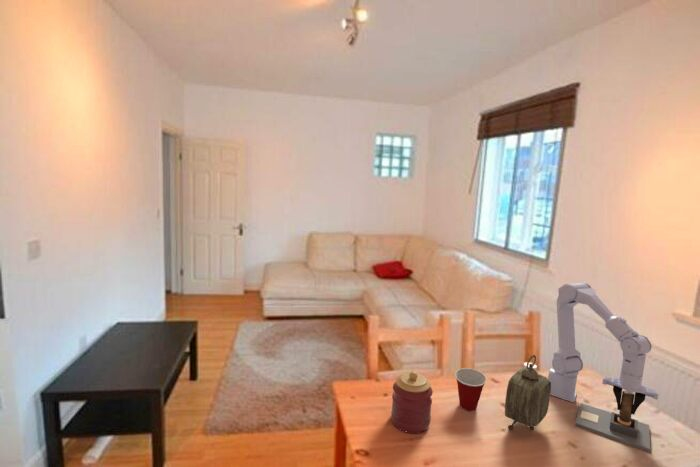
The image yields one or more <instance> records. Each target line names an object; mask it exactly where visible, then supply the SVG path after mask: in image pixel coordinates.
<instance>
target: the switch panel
mask: <svg viewBox="0 0 700 467" xmlns="http://www.w3.org/2000/svg"><path fill="white" fill-rule="evenodd" d="M579 403H580V404H579V408H578V411H577V415H576V418H575V422H574V426H576V427H578V428H581V429H583V430H586V431H589V432H592V433H595V434H598V435H601V436H604V437H606V438H609V439H612V440H615V441H618V442H620V443H623V444H625V445H628V446H631V447H634V448H637V449H639V450H643V451H644V452H647V453H650V452H651V438H650V437H651V436H650V434H651V432H650V424H648V423H647V424H646V423H643V422H642V421H641V422H640V421H639V420H637V419H635V418H632V417H631V426H629V427H627V426H624V425H621V424H619V423H618V422H617V420H618V417H619V413H616V412H614V411H611V412H610V411H607V410H604V409H601V408H599V407H595V406H592V405H589V404H586V403H583V402H579Z"/></svg>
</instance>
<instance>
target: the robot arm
mask: <svg viewBox="0 0 700 467" xmlns="http://www.w3.org/2000/svg"><path fill="white" fill-rule="evenodd" d="M557 290H558V297H557V298H556V316H557V332H558V333H557V335H558V336H557V337H558V348H556V350H555V351H554V352H553V357H552V361H551V367H552V368H551V367H550V368H549V372H548V377H547V378H548V379H549V381H550V382H551V391H550V396H552V397H556V398H559V399H562V400H565V401H567V402H571V403H575V402H576V397H577V391H576V387H577V382H578V381H577V380H578V375H579V373H580V371H582V370H583V368H584V363H583V359H582V358H581V352H580V351H579V350H577V348H576V337H575V336H576V333H575V317H574V307H575V306H576V305H579V304H582V305H587V306H588V307H589V308H590V309H591V310H592V311H594V313H596V315H597V316H599V317H600V319H602V320H603V321H604V322H605V325H604V326H605V328H606V329H607V330H608V331H609V332H610V334H611V335H612V336H614V338H616V340H617V341H618V342H619V345H620V350H621V352H622V360H621V368H620V373H619V378H615V377H607V376H604V375H603V377H602V384H603V385H608V386H611V387H612V392H613V394H614V397H615V399H616V405H617V410H618V411H620V405H621V399H622V392H623V390H624V391H628V392H631V393H633V394H634V395H635V396H634V402H633V409H632V416H634V415H635V414H636V411H637V409H638V408H639V407H640V406H641V405H642V403H644V401H646V397H650V398H653V399H654V400H656V401H658V400H659V399H658V398H659V391H657V390H654V389H651V388H649V387H646V386H643V385H642V382H643V376H644V370H645V364H646V357H647V354H648V353H650V352H651V350H652V343H651V341H650V340H649V338H648V337H647V336H645V335H644V334H639V332H637V331H636V330H635V329H633V328H632V327H631V326H630V325H629V324H628V323H627V320H626V318H622V317H621V316H618V315H614V314H613V312H612V311H611V310H610V309H609V307H607V305H606V303H604V302H603V301H602V300H601V299H600V298H599V296H598V295H597V293H596V290H595V289H594V288H593V287H592V286H591V285H590V284H589V283H587V282H578V283H576V282H575V283H564V284H562V286H560V287H558V289H557Z"/></svg>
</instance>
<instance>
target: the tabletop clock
mask: <svg viewBox="0 0 700 467" xmlns="http://www.w3.org/2000/svg"><path fill="white" fill-rule="evenodd" d="M532 359H534V361H533V362H532V363H533V364H529V363H531V360H532ZM536 362H537V356H536V355H535V354H532V355H530V356H529V358H528V360H527V368H525V369H523V368H524V367H523V368H520V369H519V370H517V371H516V372H515V373H514V374H513V375H512V376H511V377H510V378H509V380H508V383H507V387H506V392H505V393H506V394H505V403H504V416H505V417H506V418H508V419H511V420H513V422H512V423H511V424H508V426H507V429H508V430H509V431H513V430H514V426H515V425H516V424H517V423H519V424H521V425H523V426H525V427H527V428H528V429H529V431H535V427H537V426H538V425H539V424H541V422H542V421H543V420H544V419H545V418H546V416H547V414H548V410H549V405H550V399H551V395H550V391H551V382H550V381H549V379H548V377H547V376H545V375H542V374H540V373H538V371H537V370H534V369H532V368H533V366H534V365H536ZM528 365H529V367H528Z"/></svg>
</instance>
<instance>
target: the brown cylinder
mask: <svg viewBox="0 0 700 467" xmlns="http://www.w3.org/2000/svg"><path fill="white" fill-rule="evenodd" d="M634 398H635V393H634V392H633V393H632V392H628V391H626V390H622V396H621V405H620V410H619V411H618V412H619V413H618V414H619V419H621V420H623V421H625V422H630V421H631V418H632V416H633V414H632V409H633V403H634Z"/></svg>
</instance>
